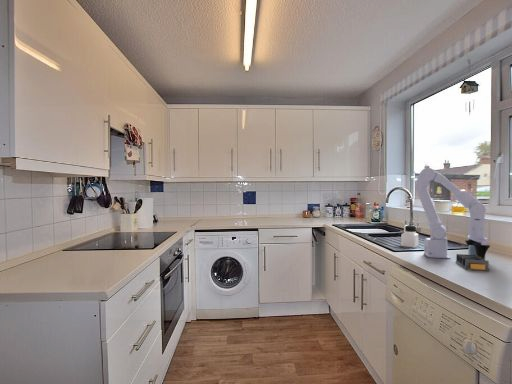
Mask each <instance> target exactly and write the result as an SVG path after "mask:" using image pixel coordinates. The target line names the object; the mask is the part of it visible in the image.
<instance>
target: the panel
mask: <svg viewBox="0 0 512 384" xmlns="http://www.w3.org/2000/svg"><path fill="white" fill-rule="evenodd" d="M467 248H468V249H467V251H468V252H467V255H477V254H476V249H475V247H474V246H473V245H467ZM484 259H485V260H486V256H485V257H484Z"/></svg>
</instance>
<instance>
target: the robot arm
mask: <svg viewBox="0 0 512 384" xmlns="http://www.w3.org/2000/svg"><path fill="white" fill-rule="evenodd" d="M432 181H433V182H435V183H438V184H441V185H442V186H443V187H445V189H447V190H448V191H449V192H451V193H452V194H453V195H454V199H455V200H456V201H457V202H458V203H460V204H461V205H462V206H463V207H464V208H467V209H468V210H469V212H470V213H469V219H468V222H469V223H468V224H469V225H468V233H469V234H467V239H465V240H464V242H465V244H466V245H467V246H468V245H473V246H474V247H475V249H476V254H477V255H478V257H481V258H482V259H484V257H485V258H486V253H487V252H488V250H489V248H490V247H491V246H490V244H488V240H489V238H488V237H486V218H485V216H486V215H485V213H486V211H487V208H486V206H485V205H484V203H482V202H480V199H478V198H476V197H474V196H473V195H472V194H471V191H469V190H466V189H460V188H459V187H457V186H456V184H454V183H453V182H452V181H451V180H449V179H448V177H446V176H444V175H443V174H441V173H440V172H438V171H436V170H435V169H433V168H431V167H425V168H423V169H422V170H421V171H420V172H419V174H418V175H417V180H416V183H415V190H416V192H417V195H418V197H419V201H420V203H421V205H422V208H423V211H424V213H425V214H426V215H425V216H426V218H427V220H428V224H429V227H430V231H429V232H430V236H429V237H425V238H424V242H423V243H424V244H423V247H424V249H423V254H424V255H425V256H426V257H427V258H432V259H434V258H435V259H451V256H449V255H448V237H447V236H446V235H447V227H446V226H445V225H444V224H443V223H442V221H441V219H440V217H439V214H438V213H437V210H436V206H435V204H434V202H433V200H432V197H431V195H430V193H429V191H428V187H429V185H430V184H431V182H432Z"/></svg>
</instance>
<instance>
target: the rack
mask: <svg viewBox="0 0 512 384" xmlns="http://www.w3.org/2000/svg"><path fill="white" fill-rule="evenodd" d="M489 262H490V261H489V260H486V258H485V259H482V258H481V257H478V255H468V253H467V254H465V253H464V254H462V253H456V259H455V263H456V264H457V265H459V266H461V267H462V268H463V269H464V270H466V271H467V270H469V271H481V272H482V271H485V272H486V271H487V272H490V268H489Z"/></svg>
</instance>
